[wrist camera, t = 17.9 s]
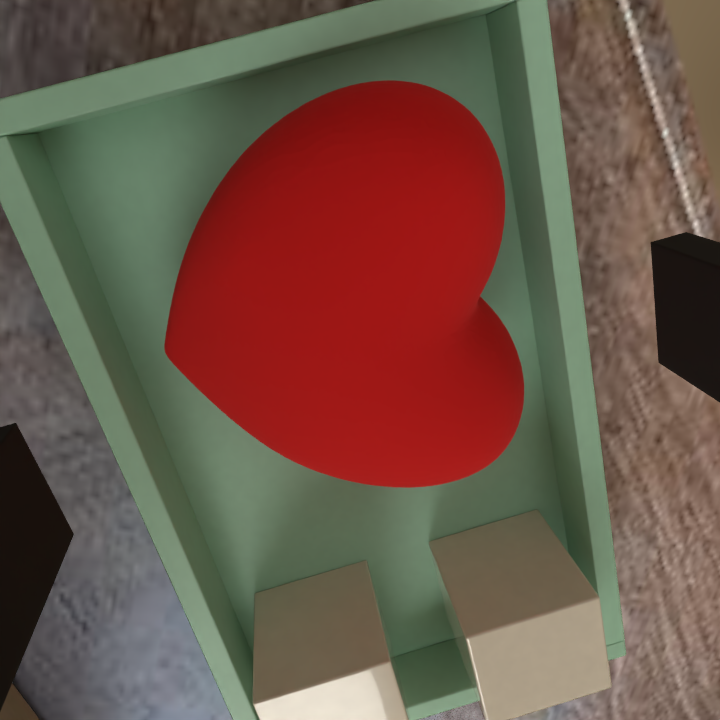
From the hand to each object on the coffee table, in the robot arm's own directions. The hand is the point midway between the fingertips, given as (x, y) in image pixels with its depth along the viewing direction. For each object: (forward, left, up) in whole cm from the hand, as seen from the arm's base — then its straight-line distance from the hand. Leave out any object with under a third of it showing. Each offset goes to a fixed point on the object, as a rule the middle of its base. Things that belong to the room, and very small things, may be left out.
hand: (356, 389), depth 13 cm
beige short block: (+12, +4, -8) cm, 15 cm away
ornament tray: (+4, 0, -9) cm, 10 cm away
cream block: (+12, -3, -8) cm, 15 cm away
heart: (0, -5, -6) cm, 8 cm away
